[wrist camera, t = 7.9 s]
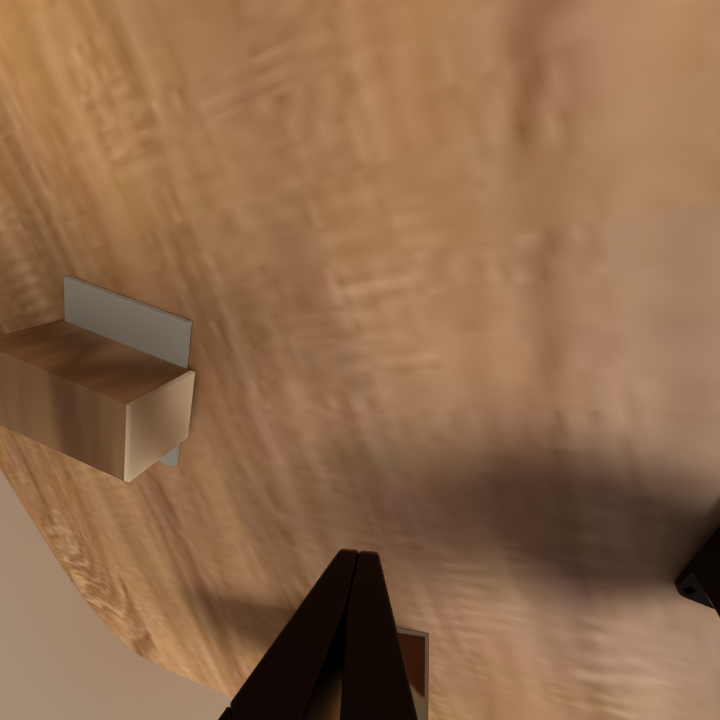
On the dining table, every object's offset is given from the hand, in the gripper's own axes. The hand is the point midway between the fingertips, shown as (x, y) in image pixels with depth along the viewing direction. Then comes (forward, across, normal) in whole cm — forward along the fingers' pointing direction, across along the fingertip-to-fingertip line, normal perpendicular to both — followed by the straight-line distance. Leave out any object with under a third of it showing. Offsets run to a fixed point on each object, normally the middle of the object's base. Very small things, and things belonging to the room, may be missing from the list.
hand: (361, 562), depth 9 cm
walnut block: (+12, +14, +5) cm, 19 cm away
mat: (+15, +18, +4) cm, 24 cm away
